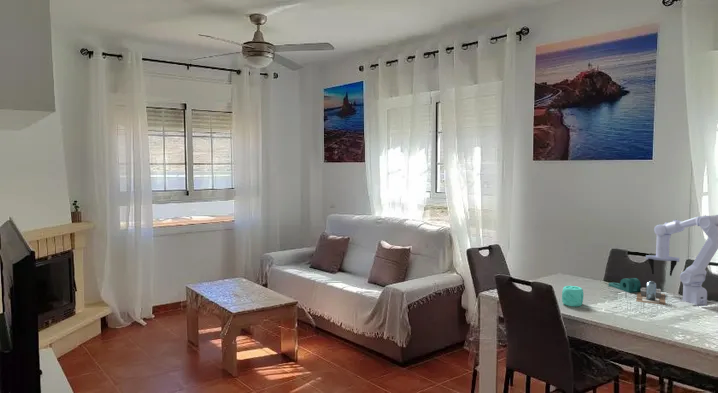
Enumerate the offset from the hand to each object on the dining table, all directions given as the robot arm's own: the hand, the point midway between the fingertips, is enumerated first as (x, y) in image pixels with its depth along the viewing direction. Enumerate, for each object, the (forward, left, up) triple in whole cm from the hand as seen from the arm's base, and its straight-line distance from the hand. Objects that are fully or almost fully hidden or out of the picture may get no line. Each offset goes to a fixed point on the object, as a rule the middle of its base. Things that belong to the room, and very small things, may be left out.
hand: (661, 274), depth 258 cm
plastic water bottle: (-10, +16, -9) cm, 21 cm away
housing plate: (-6, +12, -10) cm, 17 cm away
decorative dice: (-4, +54, -11) cm, 55 cm away
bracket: (+13, +11, -11) cm, 21 cm away
